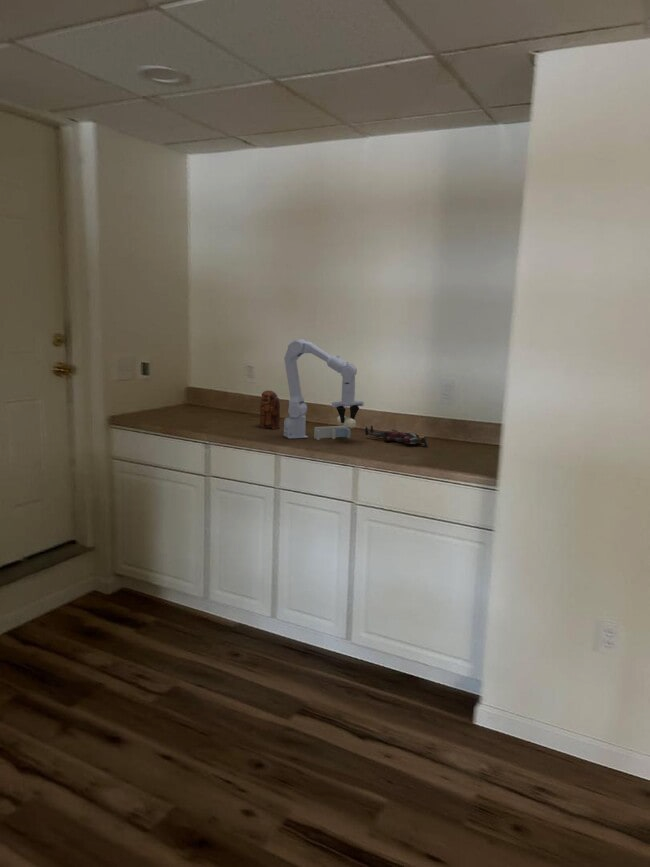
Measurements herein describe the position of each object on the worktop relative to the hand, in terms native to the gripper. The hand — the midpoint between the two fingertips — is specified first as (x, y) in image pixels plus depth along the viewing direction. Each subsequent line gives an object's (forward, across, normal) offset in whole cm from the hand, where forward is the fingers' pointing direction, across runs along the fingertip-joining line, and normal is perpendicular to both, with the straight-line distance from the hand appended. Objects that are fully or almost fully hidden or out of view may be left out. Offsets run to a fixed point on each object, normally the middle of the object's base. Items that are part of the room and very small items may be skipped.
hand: (347, 422), depth 291 cm
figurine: (+9, +22, -8) cm, 24 cm away
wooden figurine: (+9, -24, +38) cm, 46 cm away
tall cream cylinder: (+2, 0, +1) cm, 2 cm away
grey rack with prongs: (+8, -4, +6) cm, 11 cm away
